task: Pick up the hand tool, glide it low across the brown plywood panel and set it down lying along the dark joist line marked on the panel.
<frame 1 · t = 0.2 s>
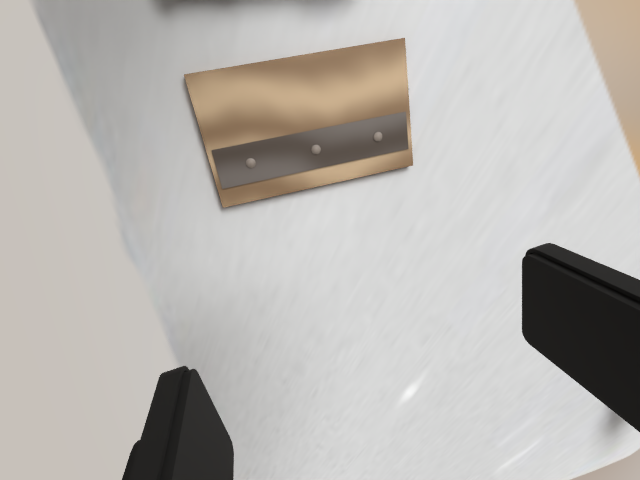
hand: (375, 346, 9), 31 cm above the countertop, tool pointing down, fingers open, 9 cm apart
plywood panel: (309, 124, 36), on the countertop
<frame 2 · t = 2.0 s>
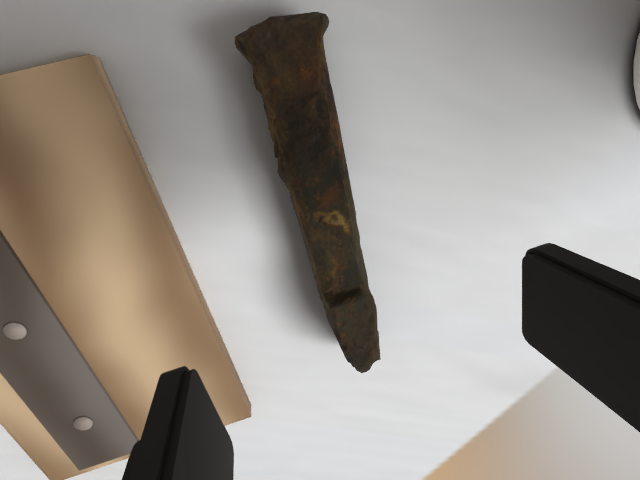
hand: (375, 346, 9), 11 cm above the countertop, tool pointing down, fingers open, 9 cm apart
plywood panel: (75, 303, 19), on the countertop
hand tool: (328, 210, 20), on the countertop
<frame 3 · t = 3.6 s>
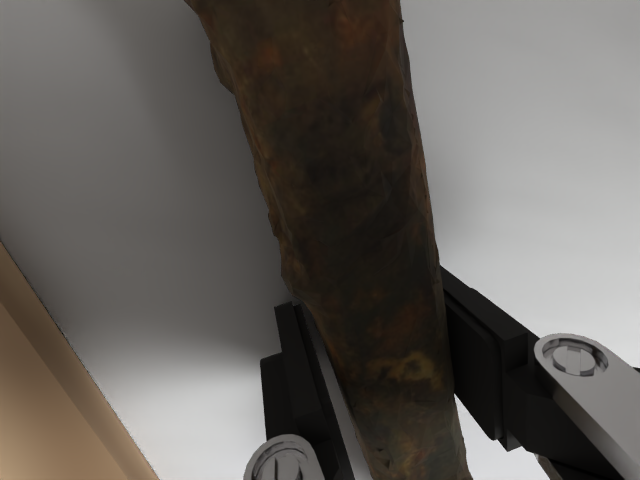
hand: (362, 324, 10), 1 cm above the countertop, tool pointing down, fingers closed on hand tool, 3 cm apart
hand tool: (372, 302, 11), on the countertop, touching gripper
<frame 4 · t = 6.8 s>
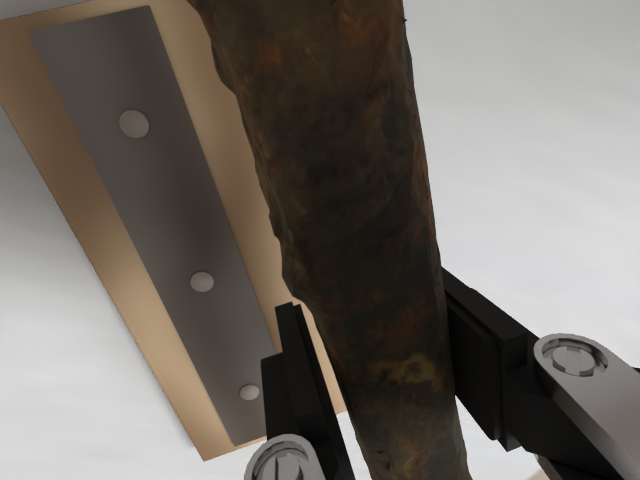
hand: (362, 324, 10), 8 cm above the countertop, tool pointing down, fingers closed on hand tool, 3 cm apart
plywood panel: (254, 255, 17), on the countertop
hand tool: (372, 303, 11), point 7 cm above the countertop, touching gripper
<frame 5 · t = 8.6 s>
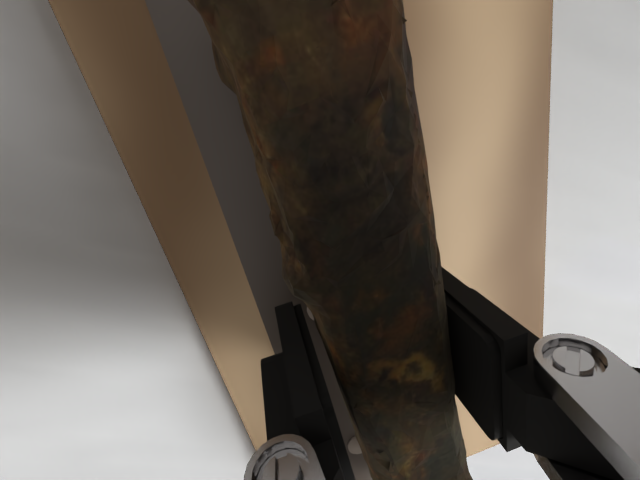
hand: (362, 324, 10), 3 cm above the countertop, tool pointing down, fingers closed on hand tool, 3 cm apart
plywood panel: (376, 270, 13), on the countertop
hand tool: (372, 303, 11), point 2 cm above the countertop, touching gripper
when the fingers open (3 cm above the countertop, at t = 9.8 s): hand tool stays where it is, resting on plywood panel.
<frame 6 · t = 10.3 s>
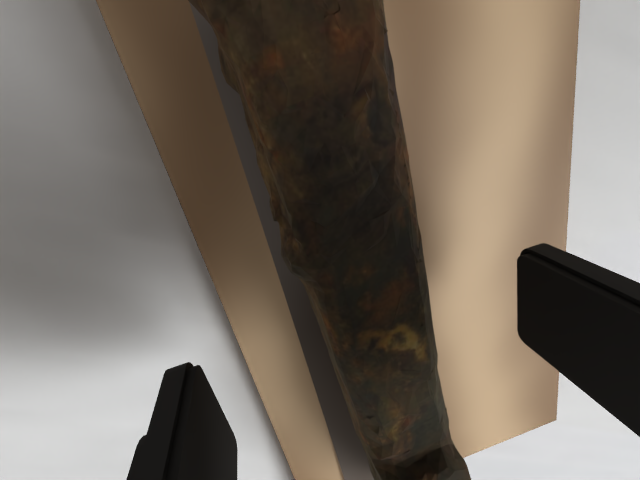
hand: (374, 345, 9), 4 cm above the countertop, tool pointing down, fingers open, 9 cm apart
plywood panel: (398, 261, 13), on the countertop
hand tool: (363, 288, 12), point 1 cm above the countertop, touching plywood panel
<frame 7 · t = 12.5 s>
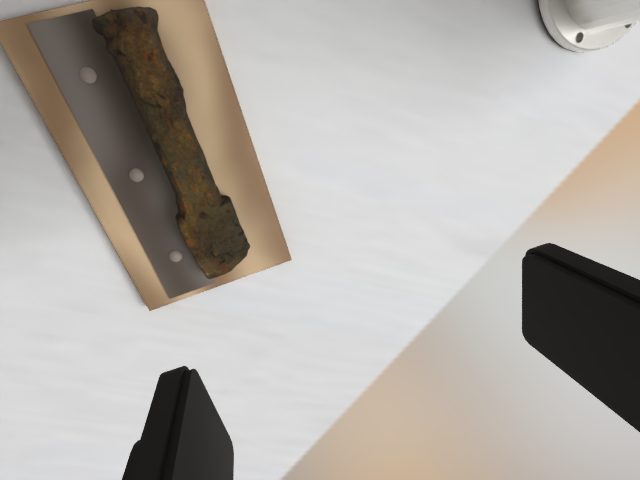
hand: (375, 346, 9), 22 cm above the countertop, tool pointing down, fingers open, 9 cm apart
plywood panel: (171, 163, 27), on the countertop
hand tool: (152, 169, 25), point 2 cm above the countertop, touching plywood panel
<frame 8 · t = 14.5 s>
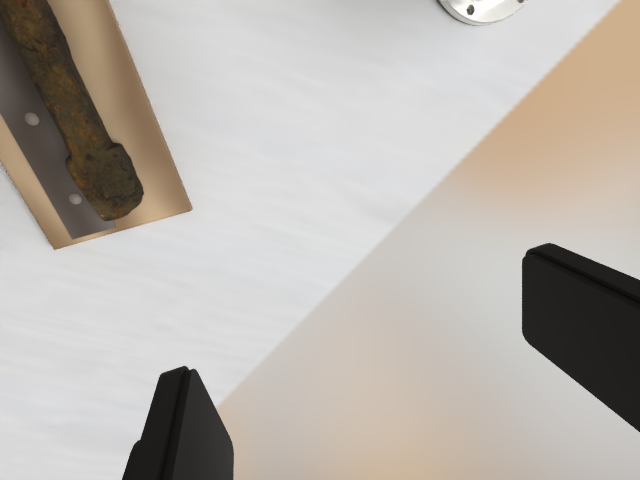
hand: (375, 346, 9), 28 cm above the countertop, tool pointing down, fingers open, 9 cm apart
plywood panel: (70, 111, 30), on the countertop
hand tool: (43, 113, 27), point 2 cm above the countertop, touching plywood panel
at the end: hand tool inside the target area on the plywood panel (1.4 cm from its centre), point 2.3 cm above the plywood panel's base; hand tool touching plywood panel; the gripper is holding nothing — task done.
